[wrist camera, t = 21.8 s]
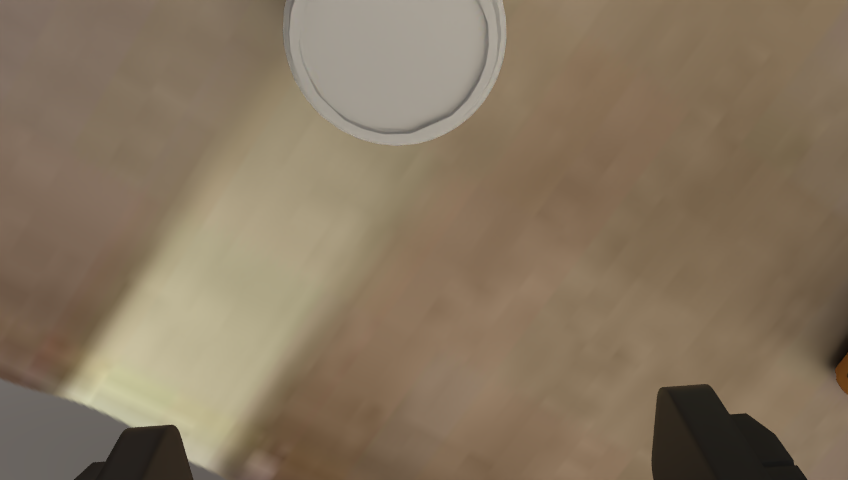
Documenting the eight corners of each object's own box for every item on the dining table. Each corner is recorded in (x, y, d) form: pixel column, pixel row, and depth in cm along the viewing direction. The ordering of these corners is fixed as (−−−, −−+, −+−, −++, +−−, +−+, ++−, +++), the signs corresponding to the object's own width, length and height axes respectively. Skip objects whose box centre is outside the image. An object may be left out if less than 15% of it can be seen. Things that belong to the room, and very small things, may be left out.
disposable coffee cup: (401, -124, 36) (390, -146, 25) (520, 10, 39) (557, 43, 28) (284, 9, 39) (229, 41, 28) (403, 125, 42) (395, 196, 31)
